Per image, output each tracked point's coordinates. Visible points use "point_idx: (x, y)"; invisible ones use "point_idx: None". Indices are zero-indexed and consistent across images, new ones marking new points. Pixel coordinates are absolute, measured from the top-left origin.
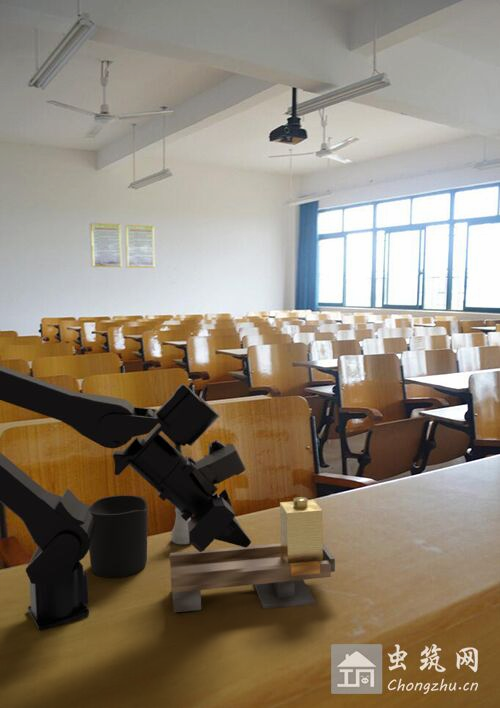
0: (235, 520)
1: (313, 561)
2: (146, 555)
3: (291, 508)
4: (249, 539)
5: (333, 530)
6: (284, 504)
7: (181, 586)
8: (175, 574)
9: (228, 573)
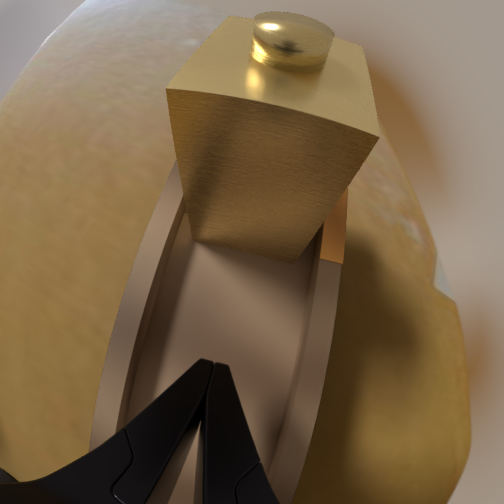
0: (171, 460)
1: None
2: (3, 481)
3: (306, 86)
4: (227, 372)
5: (77, 99)
6: (219, 82)
7: None
8: None
9: (302, 466)
